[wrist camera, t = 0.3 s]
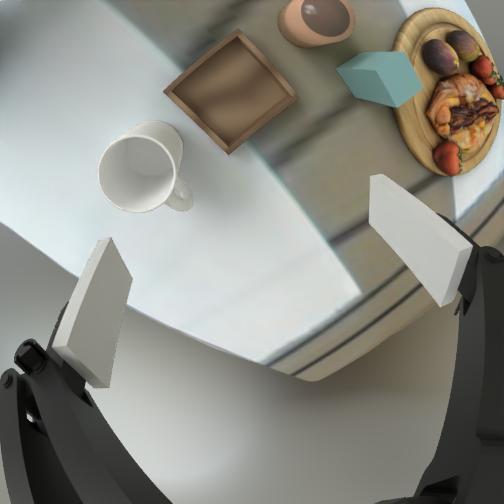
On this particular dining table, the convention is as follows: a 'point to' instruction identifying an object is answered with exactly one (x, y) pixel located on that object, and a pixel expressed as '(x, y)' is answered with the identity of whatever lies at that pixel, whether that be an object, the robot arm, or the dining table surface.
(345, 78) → the teal block
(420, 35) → the wooden plate with food
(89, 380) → the robot arm
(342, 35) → the terracotta pot
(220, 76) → the walnut box
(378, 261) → the dining table surface
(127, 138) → the mug
